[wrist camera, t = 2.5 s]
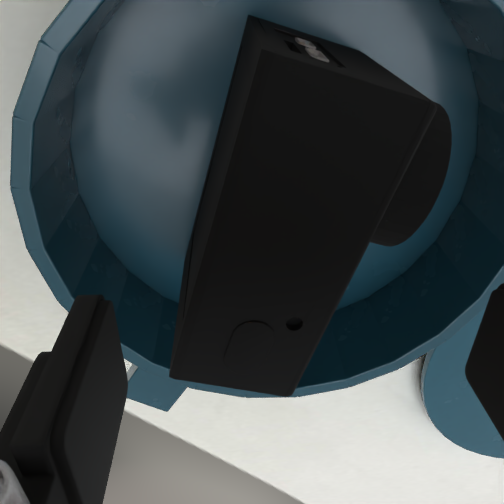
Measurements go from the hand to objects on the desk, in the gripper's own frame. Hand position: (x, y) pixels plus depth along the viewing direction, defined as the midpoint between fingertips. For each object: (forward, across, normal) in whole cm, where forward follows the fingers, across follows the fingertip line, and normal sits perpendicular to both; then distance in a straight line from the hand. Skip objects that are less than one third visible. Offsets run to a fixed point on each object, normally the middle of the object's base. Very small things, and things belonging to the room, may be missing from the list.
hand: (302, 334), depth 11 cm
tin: (+9, 0, -1) cm, 9 cm away
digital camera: (+9, 0, -1) cm, 9 cm away
